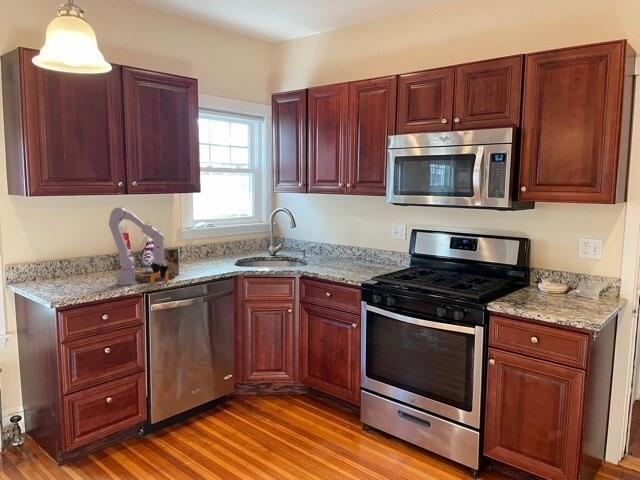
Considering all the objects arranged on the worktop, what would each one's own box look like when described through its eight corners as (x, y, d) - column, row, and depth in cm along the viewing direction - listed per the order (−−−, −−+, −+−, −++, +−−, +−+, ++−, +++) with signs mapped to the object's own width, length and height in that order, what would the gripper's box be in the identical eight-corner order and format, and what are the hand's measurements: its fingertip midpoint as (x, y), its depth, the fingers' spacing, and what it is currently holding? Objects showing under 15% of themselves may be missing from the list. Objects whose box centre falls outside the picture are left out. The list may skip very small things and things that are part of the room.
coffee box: (179, 272, 306) (178, 248, 304) (179, 274, 300) (178, 249, 298) (164, 273, 304) (163, 248, 302) (163, 275, 298) (163, 250, 296)
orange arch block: (152, 284, 271) (151, 274, 270) (150, 283, 272) (150, 273, 271) (168, 281, 278) (168, 271, 277) (167, 281, 279) (166, 271, 278)
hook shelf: (143, 282, 274) (143, 274, 273) (132, 279, 283) (132, 271, 283) (174, 278, 288) (174, 270, 288) (163, 275, 298) (163, 267, 297)
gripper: (171, 254, 271) (172, 277, 272) (159, 251, 281) (159, 274, 282) (160, 255, 266) (160, 279, 267) (147, 252, 276) (148, 275, 277)
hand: (159, 276), depth 274 cm, fingers open, 7 cm apart
